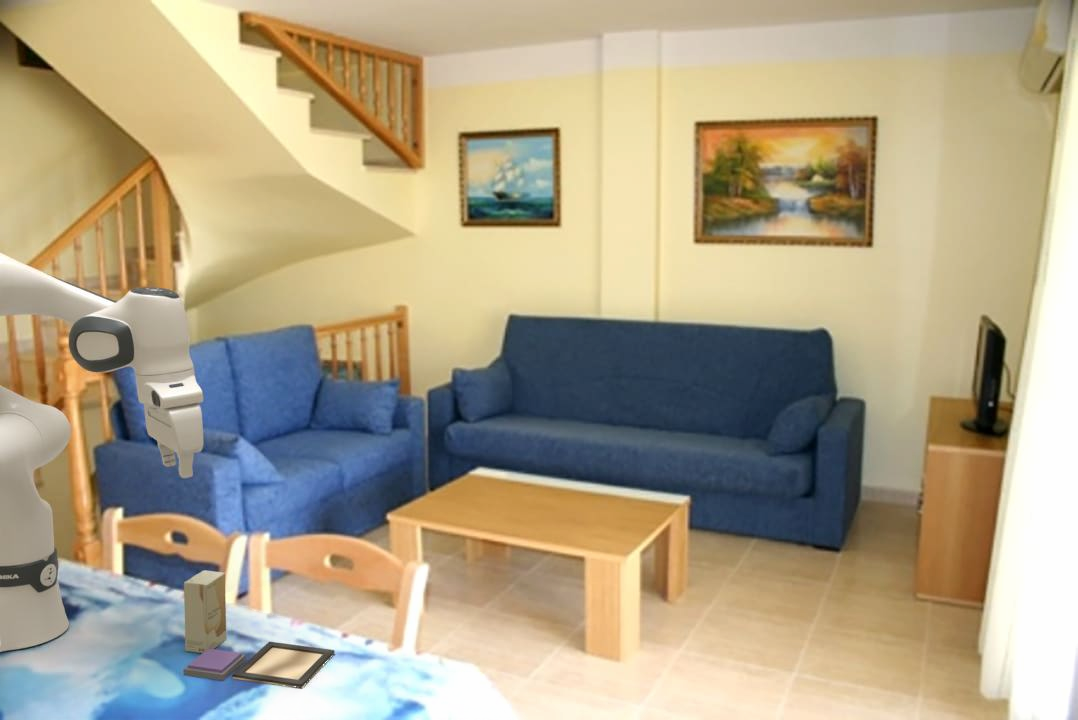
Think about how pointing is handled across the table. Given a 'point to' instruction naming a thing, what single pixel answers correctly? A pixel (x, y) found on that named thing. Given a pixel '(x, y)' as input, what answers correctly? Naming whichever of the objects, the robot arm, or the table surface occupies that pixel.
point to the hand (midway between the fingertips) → (177, 471)
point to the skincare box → (205, 611)
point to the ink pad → (215, 664)
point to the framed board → (283, 664)
